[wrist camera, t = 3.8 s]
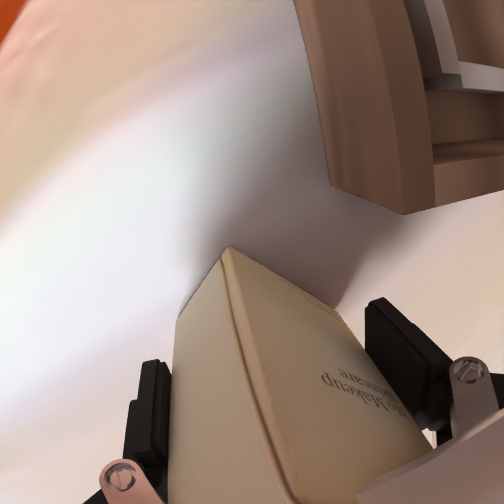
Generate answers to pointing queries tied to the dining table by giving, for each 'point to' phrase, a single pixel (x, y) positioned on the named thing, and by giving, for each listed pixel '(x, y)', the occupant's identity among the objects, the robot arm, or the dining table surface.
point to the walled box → (409, 97)
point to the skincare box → (276, 397)
